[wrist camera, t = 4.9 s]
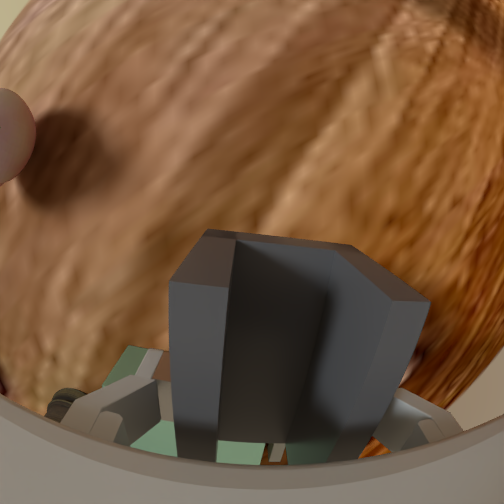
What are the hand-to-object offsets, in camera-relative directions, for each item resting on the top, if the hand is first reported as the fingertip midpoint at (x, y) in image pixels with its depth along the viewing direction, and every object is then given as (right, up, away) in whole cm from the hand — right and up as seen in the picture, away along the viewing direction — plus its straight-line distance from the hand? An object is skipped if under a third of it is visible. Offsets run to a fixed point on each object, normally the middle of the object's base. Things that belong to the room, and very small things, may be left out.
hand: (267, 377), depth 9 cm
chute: (0, 0, +2) cm, 2 cm away
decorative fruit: (-21, +14, +9) cm, 27 cm away
